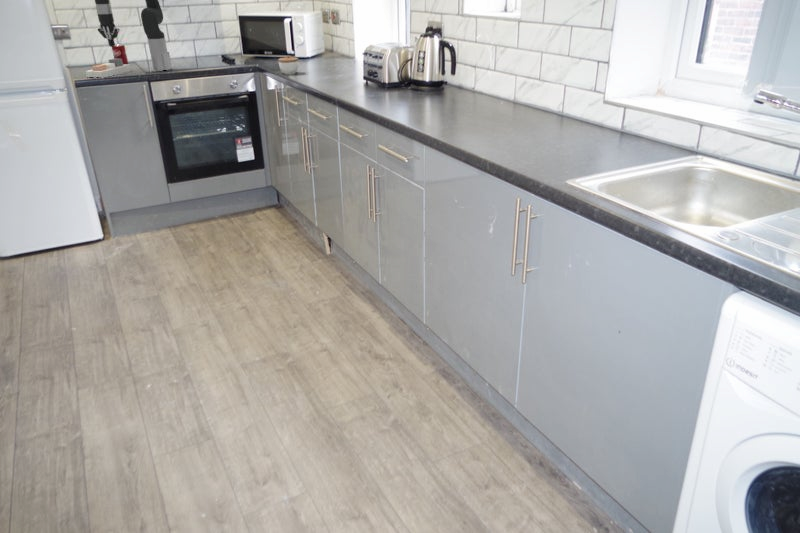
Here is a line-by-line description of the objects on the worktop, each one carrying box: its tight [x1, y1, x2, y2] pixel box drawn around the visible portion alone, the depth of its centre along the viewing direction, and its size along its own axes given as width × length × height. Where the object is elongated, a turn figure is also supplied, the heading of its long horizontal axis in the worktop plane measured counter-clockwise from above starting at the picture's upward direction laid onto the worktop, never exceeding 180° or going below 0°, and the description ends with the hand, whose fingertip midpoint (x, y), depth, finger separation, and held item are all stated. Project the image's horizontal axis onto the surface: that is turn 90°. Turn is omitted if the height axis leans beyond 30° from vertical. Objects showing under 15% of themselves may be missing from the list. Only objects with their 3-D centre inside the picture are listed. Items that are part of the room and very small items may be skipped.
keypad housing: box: [85, 64, 132, 78], centre depth 334 cm, size 10×24×4 cm, turn 166°
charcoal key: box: [108, 58, 123, 67], centre depth 339 cm, size 5×5×4 cm
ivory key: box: [100, 62, 115, 69], centre depth 333 cm, size 5×5×4 cm
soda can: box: [111, 44, 130, 65], centre depth 358 cm, size 7×7×12 cm
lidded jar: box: [277, 55, 299, 76], centre depth 323 cm, size 11×11×9 cm
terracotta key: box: [91, 64, 107, 71], centre depth 327 cm, size 5×5×4 cm
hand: (112, 46), depth 335 cm, fingers closed
